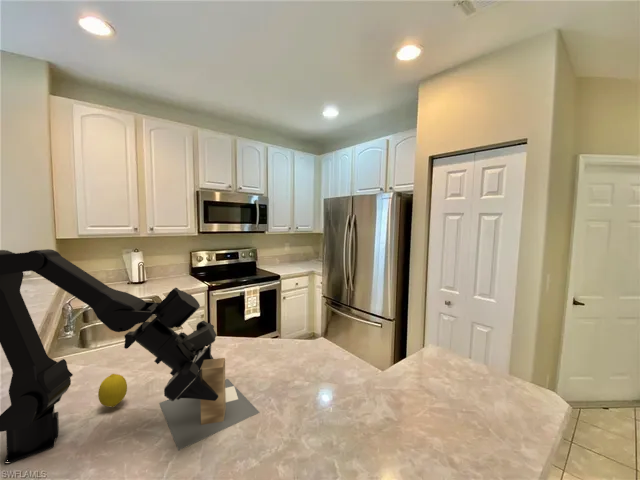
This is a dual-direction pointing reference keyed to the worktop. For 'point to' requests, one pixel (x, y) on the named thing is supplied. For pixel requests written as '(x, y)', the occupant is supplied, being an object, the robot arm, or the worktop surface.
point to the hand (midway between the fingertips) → (219, 386)
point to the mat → (187, 416)
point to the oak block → (216, 380)
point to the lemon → (112, 390)
